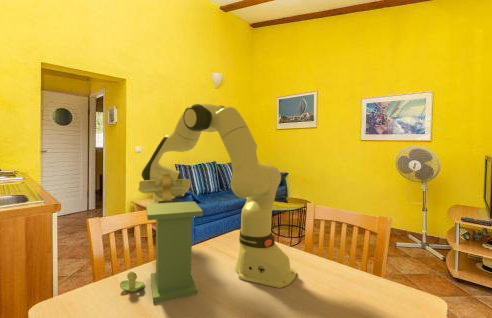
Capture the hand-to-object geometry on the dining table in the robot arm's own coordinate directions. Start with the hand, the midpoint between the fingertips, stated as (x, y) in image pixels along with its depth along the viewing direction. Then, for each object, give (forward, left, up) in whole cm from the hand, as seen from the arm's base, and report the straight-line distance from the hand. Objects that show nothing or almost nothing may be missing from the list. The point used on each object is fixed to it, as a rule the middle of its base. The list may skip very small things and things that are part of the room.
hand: (166, 179), depth 108 cm
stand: (-18, +13, -31) cm, 39 cm away
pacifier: (-9, +22, -32) cm, 39 cm away
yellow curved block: (-1, +1, -7) cm, 7 cm away
